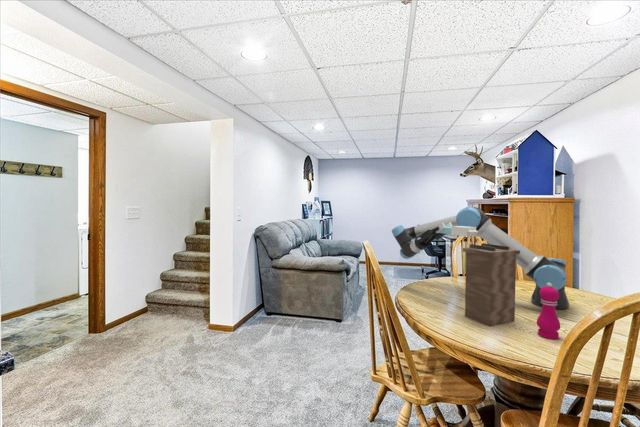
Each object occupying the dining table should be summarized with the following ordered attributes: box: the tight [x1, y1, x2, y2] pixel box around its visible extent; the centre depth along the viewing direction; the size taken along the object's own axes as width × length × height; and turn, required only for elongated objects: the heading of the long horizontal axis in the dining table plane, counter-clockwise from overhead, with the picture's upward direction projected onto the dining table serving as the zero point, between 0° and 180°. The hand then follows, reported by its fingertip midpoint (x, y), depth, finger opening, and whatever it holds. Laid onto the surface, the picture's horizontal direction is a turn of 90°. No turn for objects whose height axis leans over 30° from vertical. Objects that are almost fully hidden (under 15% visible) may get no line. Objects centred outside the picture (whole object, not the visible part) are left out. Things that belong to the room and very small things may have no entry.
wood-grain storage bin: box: [462, 242, 520, 327], centre depth 135 cm, size 17×14×32 cm
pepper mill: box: [536, 283, 561, 340], centre depth 118 cm, size 7×7×20 cm
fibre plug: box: [435, 226, 478, 237], centre depth 153 cm, size 6×23×4 cm, turn 23°
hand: (447, 225), depth 157 cm, fingers closed on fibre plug, 4 cm apart
